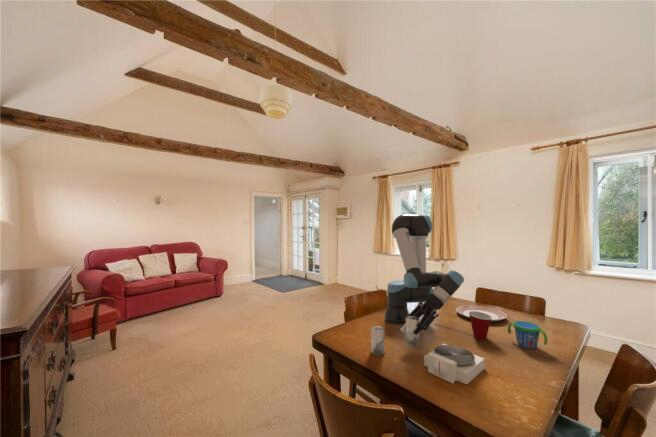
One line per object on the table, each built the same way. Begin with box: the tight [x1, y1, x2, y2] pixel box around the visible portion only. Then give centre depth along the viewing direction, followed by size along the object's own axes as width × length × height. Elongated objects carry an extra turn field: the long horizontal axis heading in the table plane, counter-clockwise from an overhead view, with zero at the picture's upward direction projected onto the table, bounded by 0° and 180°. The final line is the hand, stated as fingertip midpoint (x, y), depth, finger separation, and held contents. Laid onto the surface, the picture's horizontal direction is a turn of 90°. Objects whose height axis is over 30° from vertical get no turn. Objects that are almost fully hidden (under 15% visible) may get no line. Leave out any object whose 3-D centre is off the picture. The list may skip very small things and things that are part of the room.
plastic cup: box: [469, 311, 492, 341], centre depth 135 cm, size 11×11×12 cm
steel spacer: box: [370, 325, 385, 356], centre depth 120 cm, size 6×6×11 cm
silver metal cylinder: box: [405, 316, 420, 346], centre depth 122 cm, size 6×6×11 cm
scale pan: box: [433, 344, 475, 366], centre depth 108 cm, size 15×15×1 cm
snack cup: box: [507, 320, 548, 350], centre depth 126 cm, size 16×10×10 cm
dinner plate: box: [455, 305, 507, 323], centre depth 165 cm, size 27×27×3 cm
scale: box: [423, 343, 486, 385], centre depth 107 cm, size 17×21×7 cm
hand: (405, 335), depth 121 cm, fingers closed on silver metal cylinder, 6 cm apart
